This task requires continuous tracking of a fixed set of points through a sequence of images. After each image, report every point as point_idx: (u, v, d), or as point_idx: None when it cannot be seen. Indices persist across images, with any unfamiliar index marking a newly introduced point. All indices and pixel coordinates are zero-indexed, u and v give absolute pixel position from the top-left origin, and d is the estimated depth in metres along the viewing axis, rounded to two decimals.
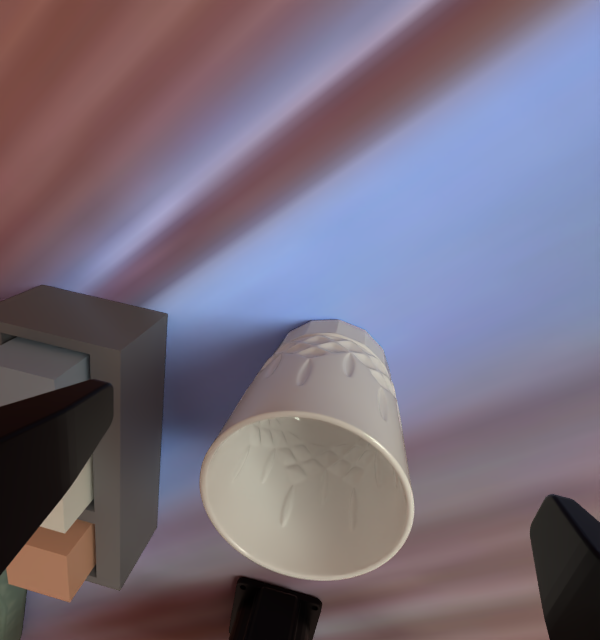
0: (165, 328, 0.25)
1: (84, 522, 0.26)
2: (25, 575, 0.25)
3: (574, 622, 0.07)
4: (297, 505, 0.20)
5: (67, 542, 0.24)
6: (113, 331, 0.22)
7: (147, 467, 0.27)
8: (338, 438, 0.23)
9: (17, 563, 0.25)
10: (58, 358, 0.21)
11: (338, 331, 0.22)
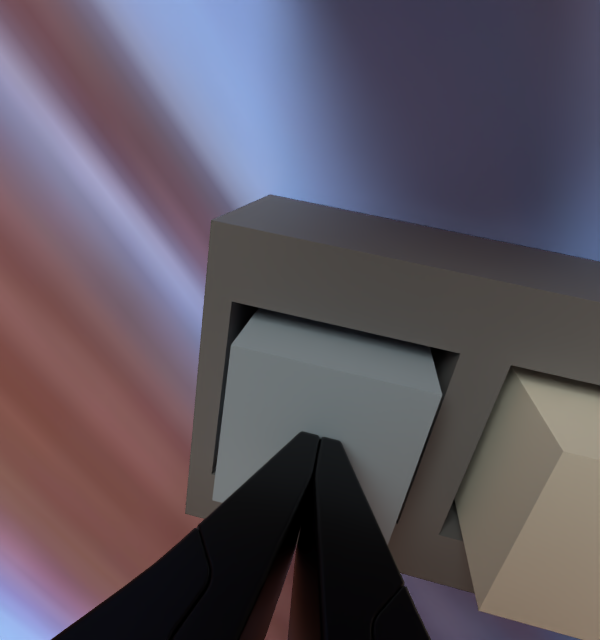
0: (295, 201, 0.13)
1: None
2: None
3: (300, 546, 0.07)
4: None
5: None
6: None
7: None
8: None
9: None
10: None
11: None
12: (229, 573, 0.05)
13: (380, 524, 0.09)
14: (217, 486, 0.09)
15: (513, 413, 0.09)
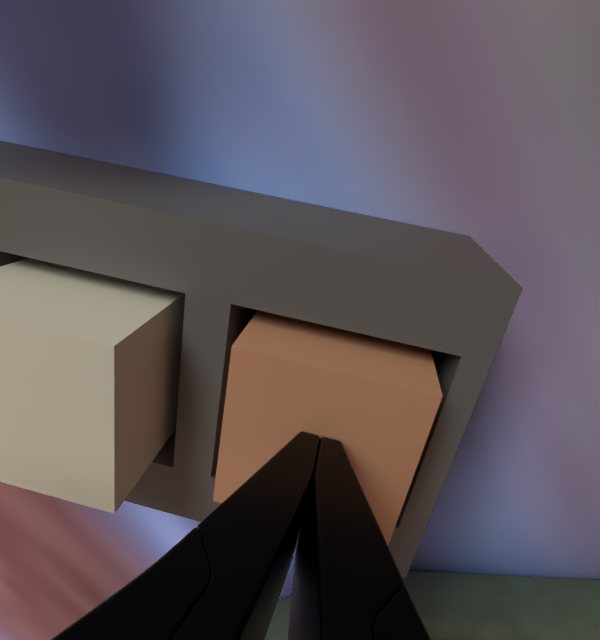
0: None
1: None
2: None
3: (300, 546, 0.07)
4: None
5: None
6: None
7: (195, 191, 0.11)
8: None
9: None
10: None
11: None
12: (229, 573, 0.05)
13: None
14: None
15: None
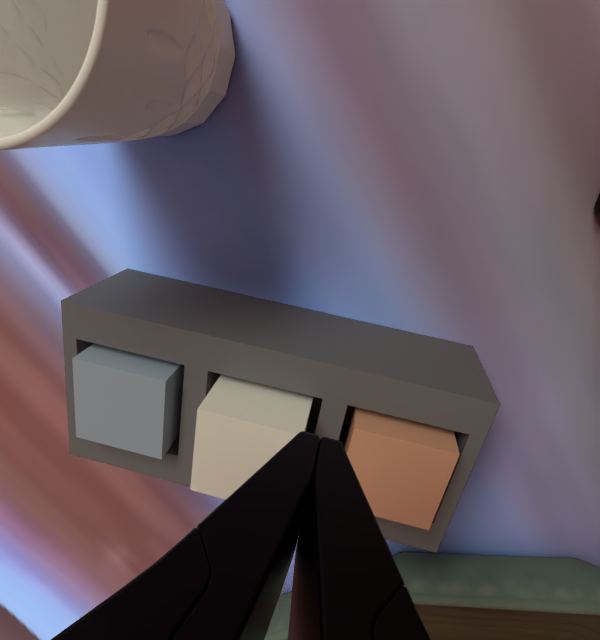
0: (140, 273, 0.22)
1: None
2: (406, 500, 0.17)
3: (300, 546, 0.07)
4: None
5: (352, 426, 0.17)
6: None
7: (311, 326, 0.19)
8: None
9: (381, 501, 0.17)
10: None
11: None
12: (229, 573, 0.05)
13: (155, 446, 0.18)
14: (77, 429, 0.19)
15: None
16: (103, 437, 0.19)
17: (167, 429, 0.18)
